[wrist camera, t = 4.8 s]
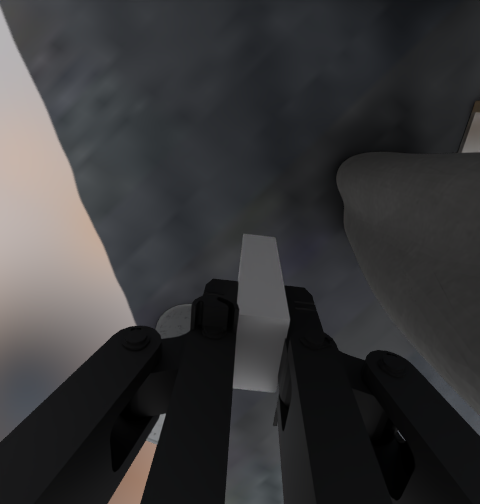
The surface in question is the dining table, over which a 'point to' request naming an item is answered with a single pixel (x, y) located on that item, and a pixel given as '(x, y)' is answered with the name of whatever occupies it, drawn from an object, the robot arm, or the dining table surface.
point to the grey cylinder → (168, 327)
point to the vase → (422, 252)
